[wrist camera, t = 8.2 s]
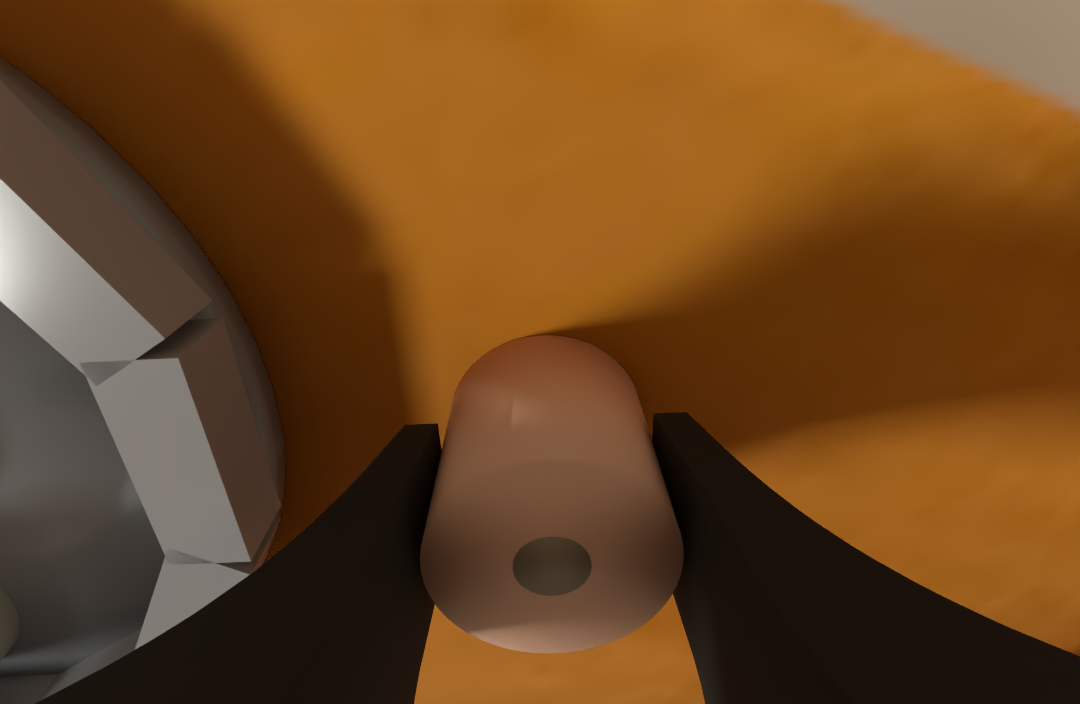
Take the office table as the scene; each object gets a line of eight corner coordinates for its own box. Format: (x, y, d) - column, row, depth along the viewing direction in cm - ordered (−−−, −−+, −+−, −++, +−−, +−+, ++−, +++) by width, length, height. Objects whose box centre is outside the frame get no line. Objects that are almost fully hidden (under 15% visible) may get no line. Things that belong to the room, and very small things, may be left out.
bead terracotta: (637, 490, 14) (676, 650, 10) (461, 498, 14) (437, 660, 10) (643, 330, 12) (693, 454, 8) (440, 339, 12) (401, 468, 8)
